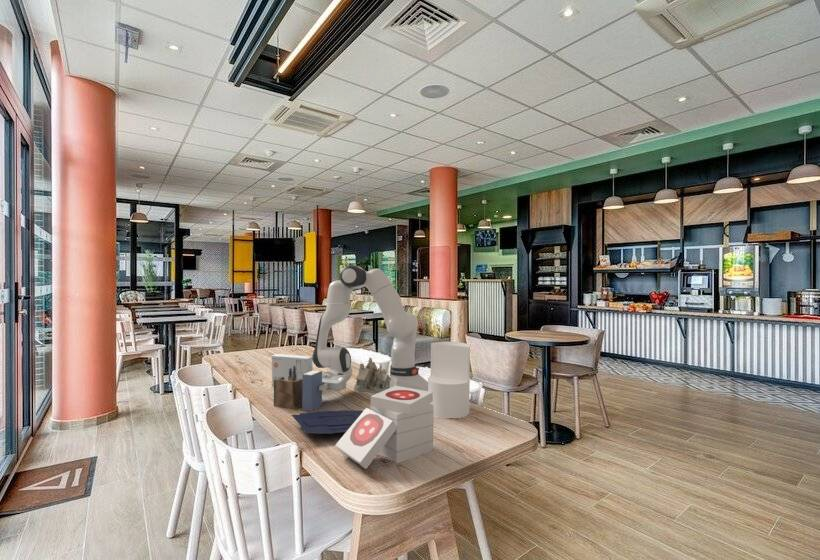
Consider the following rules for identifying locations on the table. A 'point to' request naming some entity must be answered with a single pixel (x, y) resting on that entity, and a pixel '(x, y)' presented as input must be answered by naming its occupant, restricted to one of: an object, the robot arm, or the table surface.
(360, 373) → the grey rock
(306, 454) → the table surface
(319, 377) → the tall blue pillar
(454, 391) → the cylinder
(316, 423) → the navy flat slab
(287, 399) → the shelf
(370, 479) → the table surface
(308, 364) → the skincare box
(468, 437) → the table surface
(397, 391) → the pizza boxes
